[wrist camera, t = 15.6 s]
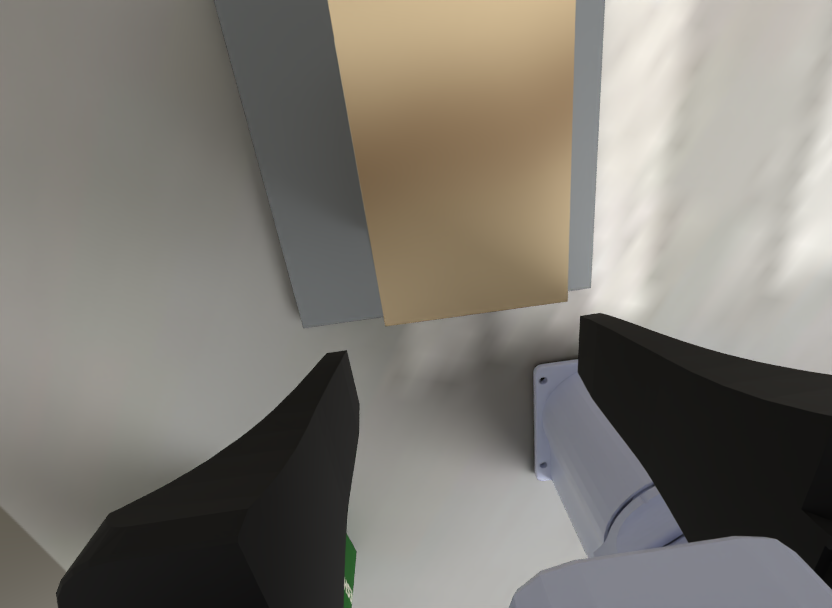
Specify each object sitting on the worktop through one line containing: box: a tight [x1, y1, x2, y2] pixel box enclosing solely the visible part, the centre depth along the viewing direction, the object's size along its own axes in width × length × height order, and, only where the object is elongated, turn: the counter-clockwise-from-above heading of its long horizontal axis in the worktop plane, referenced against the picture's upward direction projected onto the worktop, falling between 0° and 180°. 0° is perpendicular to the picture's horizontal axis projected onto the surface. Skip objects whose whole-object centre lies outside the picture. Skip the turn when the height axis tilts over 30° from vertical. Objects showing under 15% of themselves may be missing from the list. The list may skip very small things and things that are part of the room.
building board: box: [214, 0, 605, 328], centre depth 19 cm, size 16×16×1 cm
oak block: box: [328, 0, 576, 326], centre depth 11 cm, size 8×5×5 cm, turn 7°
